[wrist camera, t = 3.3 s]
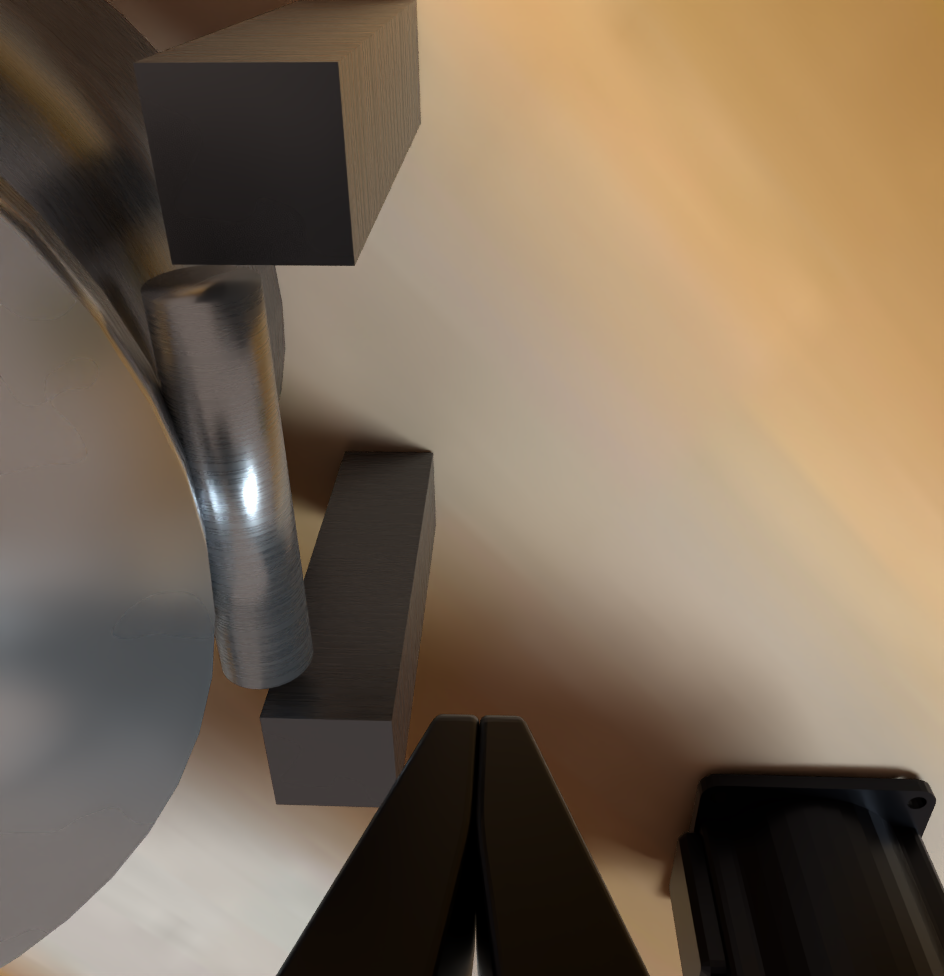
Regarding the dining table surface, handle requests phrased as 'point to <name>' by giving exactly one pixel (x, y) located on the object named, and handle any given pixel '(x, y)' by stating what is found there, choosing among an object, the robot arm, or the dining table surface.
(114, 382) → the lid
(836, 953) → the robot arm
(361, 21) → the cooker
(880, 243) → the dining table surface
